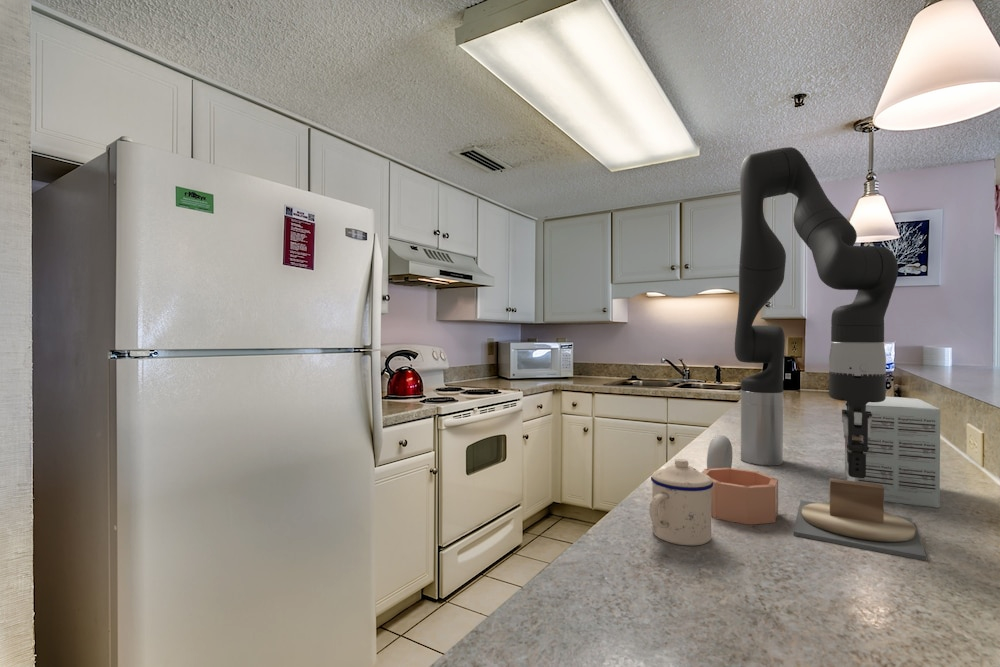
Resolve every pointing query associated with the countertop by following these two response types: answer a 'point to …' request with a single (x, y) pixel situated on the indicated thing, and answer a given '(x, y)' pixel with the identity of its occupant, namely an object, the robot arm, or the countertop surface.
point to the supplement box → (903, 451)
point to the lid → (858, 513)
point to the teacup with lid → (681, 504)
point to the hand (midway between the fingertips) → (856, 470)
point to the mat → (901, 548)
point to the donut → (719, 453)
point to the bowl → (743, 496)
